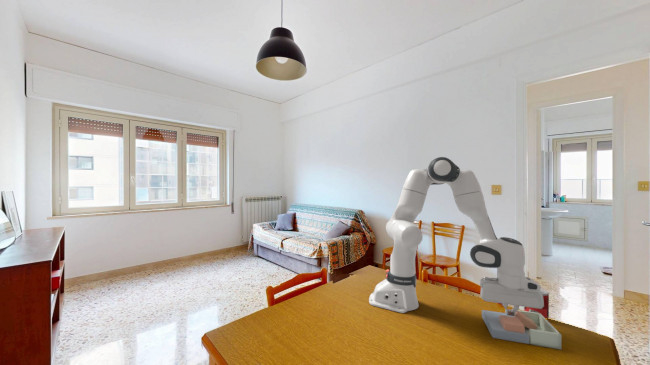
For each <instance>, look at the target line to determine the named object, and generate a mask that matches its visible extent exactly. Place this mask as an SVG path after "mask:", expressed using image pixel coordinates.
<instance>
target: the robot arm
mask: <svg viewBox="0 0 650 365" xmlns="http://www.w3.org/2000/svg"><path fill="white" fill-rule="evenodd" d="M443 184H446V185H448V187H450V189H451V191H452V194H453V200H454V202H455V204H456V207H457V208H458V211H459V212H460V213H462V214H463V215H465V216H467V217H469V219H471V221H472V222H473V224H474V226H475V230H476V232H477V235H478V238H479V243H477V244H475V245H474V246H472V247H471V249H470V252H469V255H470V259H471V261H472V262H473V264H475V265H476V266H478V267H480V268H487V269H488V268H489V269H496V277H488V276H485V277H482V278H481V279H480V280H479V282H480V283H479V285H480V298H481V299H482V300H483V301H484V302H487V303H488V302H490V303H496V304H501V305H502V306H503V308H504V309H505V310H504V313H506V315H510V316H516V312H517V311H518V310H520V307H523V308H524V307H531V308H538V309H542V308H543V307H544V300H543V294H542V292H541V291H540V289H542V287H541V285H540V283H538V282H537V281H535V280H534V279H533V278H530V277H527V276H526V274H525V270H524V268H525V265H526V254H525V248H524V245H523V244H522V243H521V242H520V241H519V240H516V239H514V238H511V237H506V236H503V237H499V238H497V235H496V234H495V231H494V227H493V225H492V222H491V220H490V217H489V214H488V211H487V206H486V202H485V198H484V195H483V190H482V188H481V185H480V182H479V180H478V178H477V176H476V174H475V173H474V172H473V170H471V169H466V168H464V169H460V167H459V166H458V165H457V164H456V163H454V162H453V161H452V159H450V158H448V157H446V156H445V157H444V156H438V157H436V158H434V159H433V160H431V161H430V162H429V164H428V166H427V168H426V169H421V168H415V169H411V170H410V171H409V173H408V174H407V176H406V178H405V180H404V183H403V185H402V189H401V192H400V195H399V199H398V203H397V205H396V207H395V209H394V211H393V213H392V215H391V217H390V219H389V220H388V221H387V222H386V224H385V231H386V233H387V236H388V237H389V238H390V239H392V240H393V248H392V252H391V254H390V258H389V259H390V261H389V262H390V266H389V267H390V268H389V269H386V270H385V278H384V279H383V280H382V281H380V282H378V283H377V284H376V285H375V287H374V290H373V292H372V293H370V295H369V298H368V303H369V304H370V305H371V306H373V307H377V308H381V309H385V310H389V311H393V312H396V313H397V312H398V313H400V314H401V313H402V314H405V313H407V312H410V311H413V310H417V309H418V308H419V306H420V304H419V302H418V301H419V300H418V297H417V291H416V290H417V289H416V287H417V275H416V256H417V251H418V247H419V245H420V244H421V243H422V241H423V237H424V236H423V232H422V230H421V228H419V226H417V225H416V224H415V223H414V222H415V220H416V219H417V217H418V216H419V215H420V214H421V213H422V212H423V208H424V205H425V201H426V198H427V195H428V191H429V188H430V186H433V185H443ZM509 305H510V306H513V307H512V309H509V308H508V307H509Z"/></svg>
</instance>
